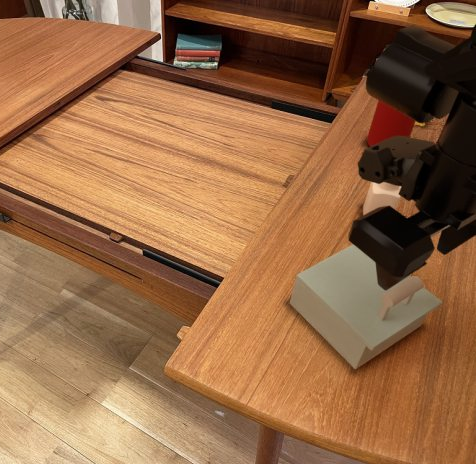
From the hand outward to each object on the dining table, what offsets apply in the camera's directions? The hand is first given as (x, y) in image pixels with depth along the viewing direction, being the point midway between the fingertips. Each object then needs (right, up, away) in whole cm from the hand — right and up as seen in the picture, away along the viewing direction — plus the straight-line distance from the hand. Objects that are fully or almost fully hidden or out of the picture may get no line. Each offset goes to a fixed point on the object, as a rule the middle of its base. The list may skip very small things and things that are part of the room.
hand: (412, 268), depth 54 cm
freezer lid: (-2, -3, +8) cm, 9 cm away
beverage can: (+13, +19, +38) cm, 45 cm away
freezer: (-2, -7, +12) cm, 14 cm away
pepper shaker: (+6, +6, +25) cm, 26 cm away
